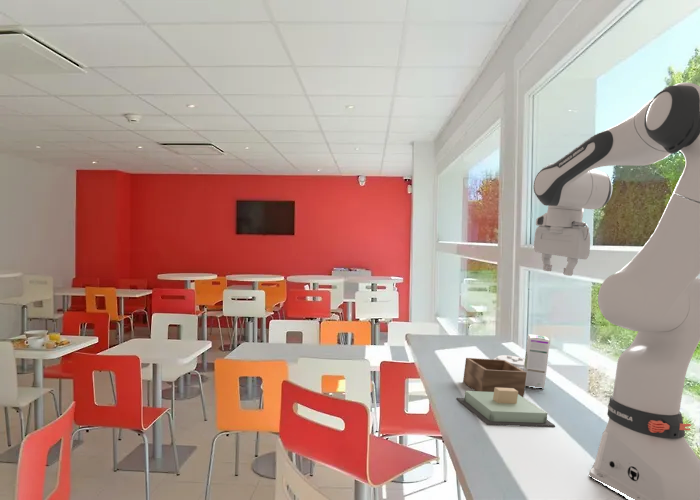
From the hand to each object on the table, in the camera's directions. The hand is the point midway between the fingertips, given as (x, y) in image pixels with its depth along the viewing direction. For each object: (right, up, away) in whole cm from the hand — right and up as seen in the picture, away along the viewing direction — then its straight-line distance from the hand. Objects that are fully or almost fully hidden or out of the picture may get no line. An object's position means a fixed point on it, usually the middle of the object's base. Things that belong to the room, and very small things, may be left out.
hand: (557, 273), depth 148 cm
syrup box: (-2, -34, +15) cm, 37 cm away
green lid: (-18, -33, -13) cm, 40 cm away
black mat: (-18, -33, -13) cm, 40 cm away
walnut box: (-16, -32, +5) cm, 36 cm away
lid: (-3, -33, +28) cm, 43 cm away
